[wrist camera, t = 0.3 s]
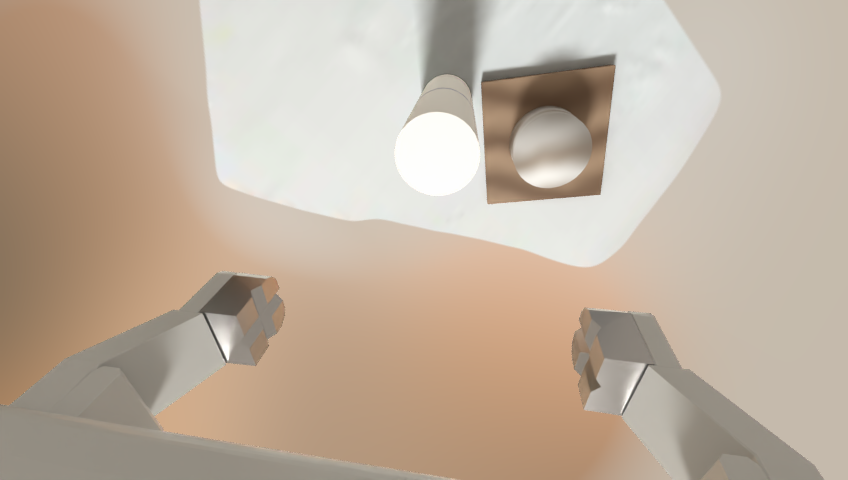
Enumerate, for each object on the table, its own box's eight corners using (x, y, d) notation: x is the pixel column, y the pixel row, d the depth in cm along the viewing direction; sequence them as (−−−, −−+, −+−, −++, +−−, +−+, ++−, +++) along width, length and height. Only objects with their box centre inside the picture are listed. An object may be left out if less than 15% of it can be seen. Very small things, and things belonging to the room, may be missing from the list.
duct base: (481, 81, 50) (483, 88, 45) (612, 64, 48) (631, 69, 42) (487, 200, 59) (489, 218, 54) (597, 191, 57) (612, 208, 51)
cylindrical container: (468, 69, 49) (475, 104, 28) (474, 123, 53) (483, 190, 32) (417, 79, 51) (386, 119, 29) (425, 130, 54) (403, 200, 33)
